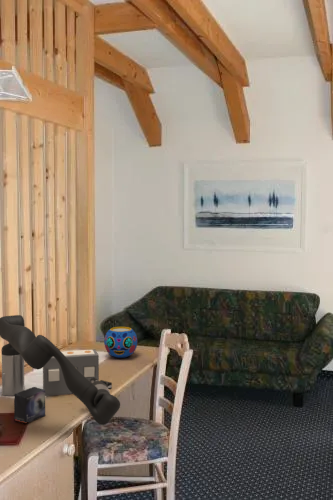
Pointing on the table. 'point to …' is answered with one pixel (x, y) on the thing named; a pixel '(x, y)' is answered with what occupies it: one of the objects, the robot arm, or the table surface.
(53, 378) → the left button
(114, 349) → the ceramic pot
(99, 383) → the robot arm
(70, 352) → the control panel
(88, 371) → the right button
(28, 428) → the table surface
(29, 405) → the small box
